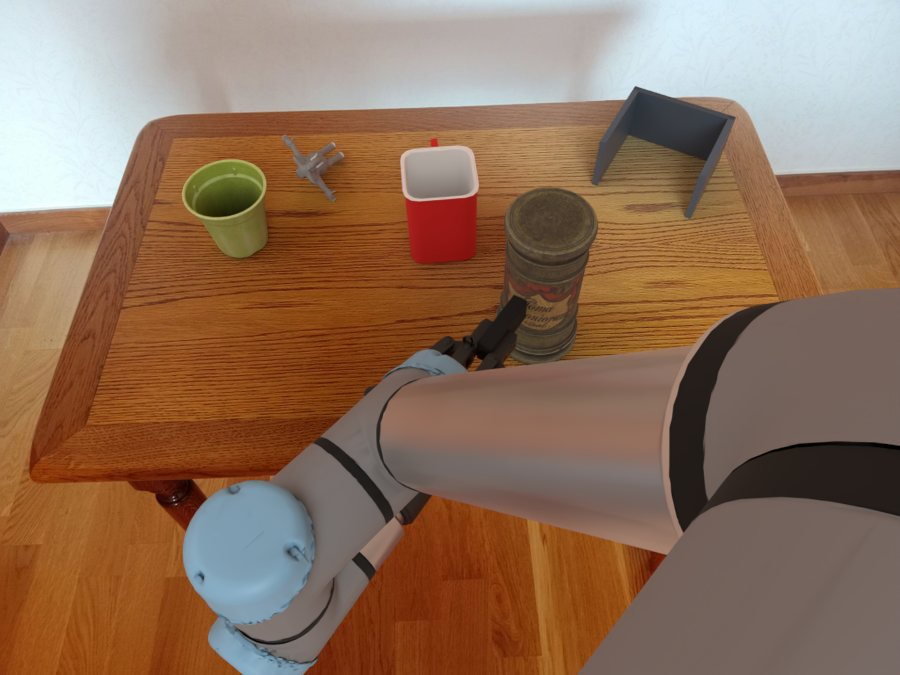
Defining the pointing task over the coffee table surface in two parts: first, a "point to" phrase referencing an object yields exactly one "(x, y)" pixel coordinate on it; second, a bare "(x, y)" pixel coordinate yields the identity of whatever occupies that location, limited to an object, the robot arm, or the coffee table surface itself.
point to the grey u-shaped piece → (667, 133)
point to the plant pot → (230, 205)
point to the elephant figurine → (314, 164)
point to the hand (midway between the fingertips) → (519, 306)
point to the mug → (440, 202)
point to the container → (547, 269)
